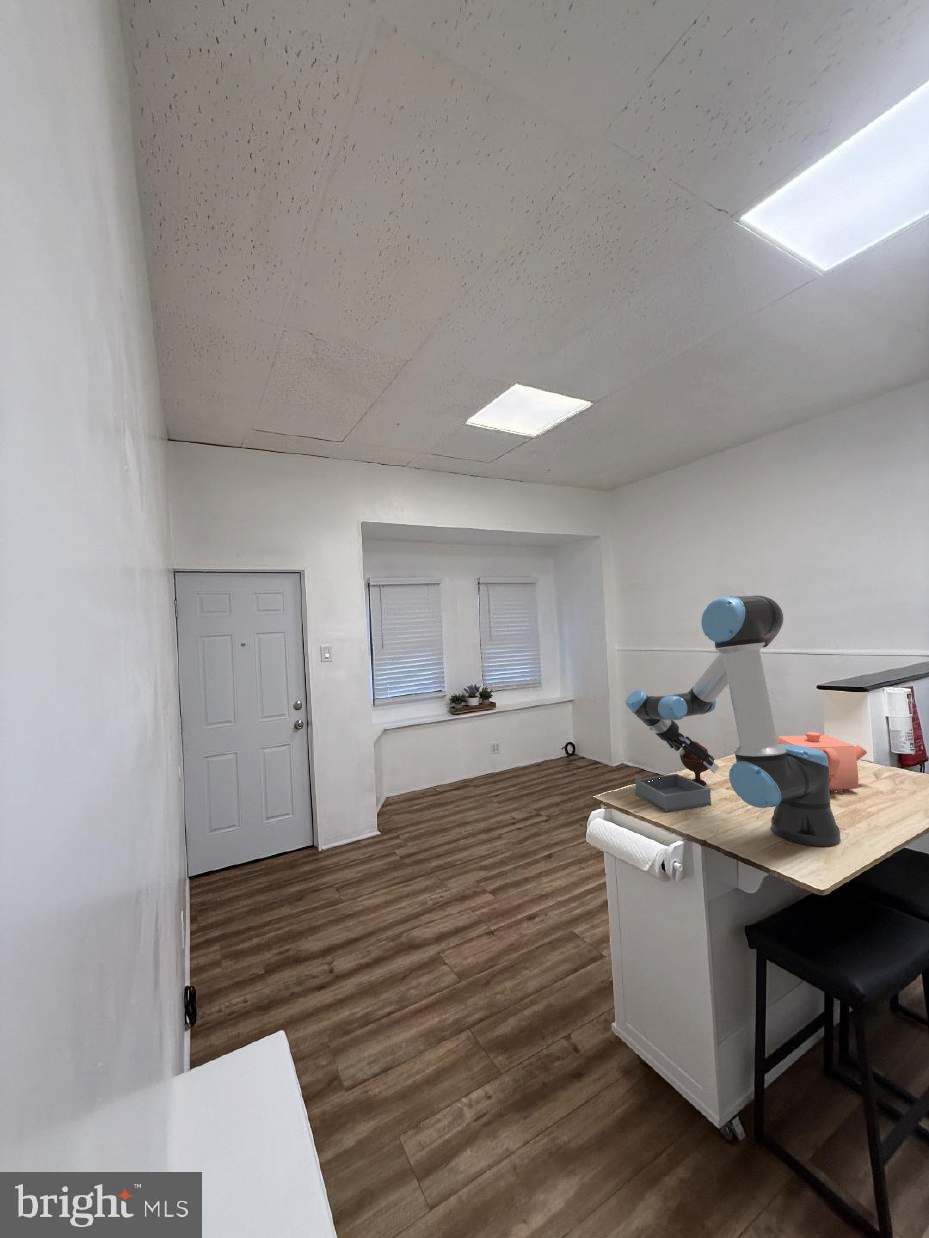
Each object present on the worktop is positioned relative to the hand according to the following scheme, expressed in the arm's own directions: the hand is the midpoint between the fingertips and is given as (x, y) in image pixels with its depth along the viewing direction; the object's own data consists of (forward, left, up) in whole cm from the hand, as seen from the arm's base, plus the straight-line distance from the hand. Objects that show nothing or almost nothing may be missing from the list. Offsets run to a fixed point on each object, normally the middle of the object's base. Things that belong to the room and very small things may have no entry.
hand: (703, 764), depth 170 cm
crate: (-9, +20, -6) cm, 23 cm away
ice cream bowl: (0, +3, -6) cm, 7 cm away
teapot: (-17, -33, -7) cm, 38 cm away
